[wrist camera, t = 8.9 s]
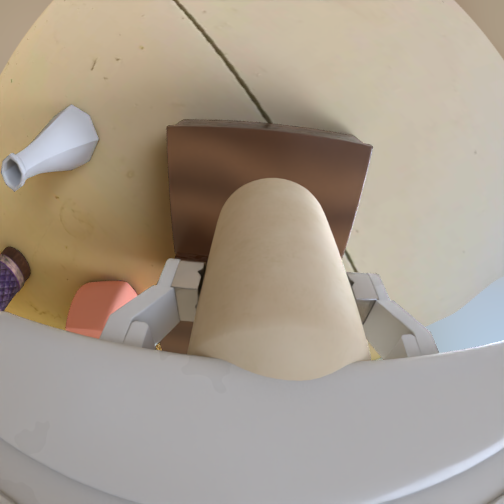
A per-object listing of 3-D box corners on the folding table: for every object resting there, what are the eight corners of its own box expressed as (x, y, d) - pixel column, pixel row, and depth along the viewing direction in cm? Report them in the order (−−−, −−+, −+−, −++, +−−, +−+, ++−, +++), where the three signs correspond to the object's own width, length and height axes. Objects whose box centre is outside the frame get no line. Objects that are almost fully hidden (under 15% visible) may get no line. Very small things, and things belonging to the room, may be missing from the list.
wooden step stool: (181, 117, 23) (120, 157, 13) (356, 134, 23) (420, 186, 13) (188, 271, 34) (163, 356, 24) (319, 280, 34) (336, 367, 24)
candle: (314, 268, 16) (344, 441, 8) (220, 264, 16) (192, 440, 8) (332, 180, 13) (420, 372, 5) (217, 173, 13) (152, 373, 5)
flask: (41, 136, 23) (-18, 171, 15) (73, 92, 20) (6, 114, 12) (74, 179, 26) (21, 225, 18) (110, 139, 24) (51, 177, 16)
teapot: (65, 277, 36) (34, 328, 27) (164, 271, 34) (139, 337, 26) (97, 326, 42) (77, 374, 34) (189, 327, 41) (176, 387, 32)
